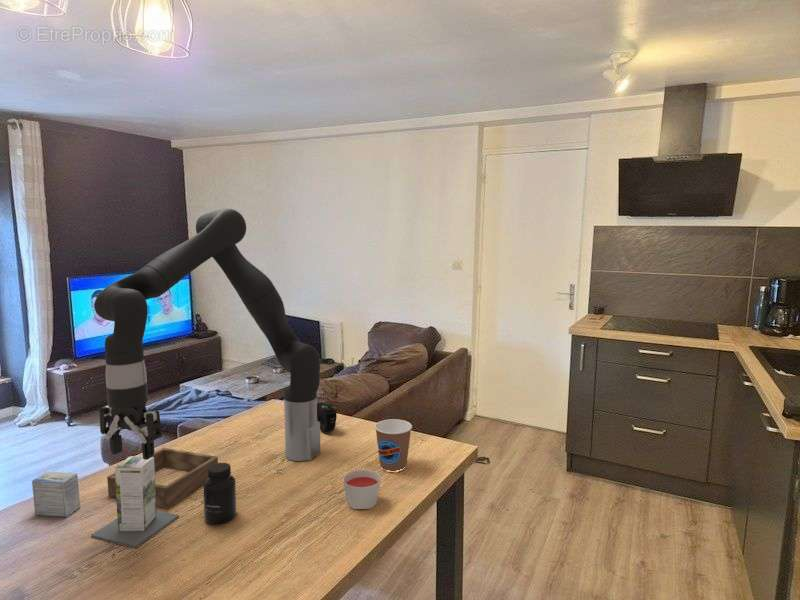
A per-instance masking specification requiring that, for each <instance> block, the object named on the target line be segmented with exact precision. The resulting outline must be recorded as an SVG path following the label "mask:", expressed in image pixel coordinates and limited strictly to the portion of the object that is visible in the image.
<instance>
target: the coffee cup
mask: <svg viewBox="0 0 800 600" xmlns="http://www.w3.org/2000/svg"><path fill="white" fill-rule="evenodd" d="M374 429H375V434H376V435H375V436H376V442H377V450H378V457H379V458H378V459H379V465H380V468H381V467H382V468H383V469H385V470H390V471H396V470H400V469H403V468H404V467H405V466H406V467H407V463H408V458H409V457H408V456H409V449H410V441H411V433H412V432H411V431H412V429H413V425H412V424H411V423H410V422H409V421H407V420H404V419H397V418H396V419H395V418H391V419H384V420H380V421H378V422H376V423H375V424H374Z"/></svg>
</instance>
